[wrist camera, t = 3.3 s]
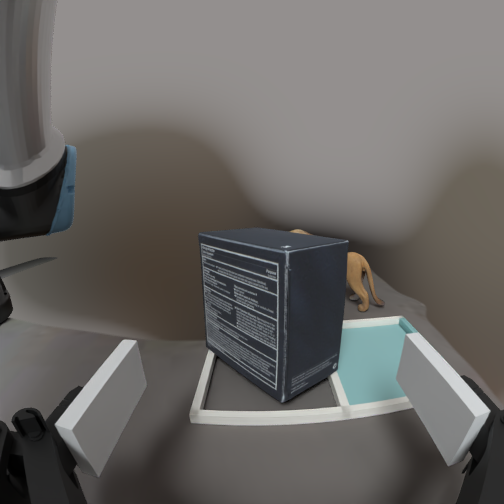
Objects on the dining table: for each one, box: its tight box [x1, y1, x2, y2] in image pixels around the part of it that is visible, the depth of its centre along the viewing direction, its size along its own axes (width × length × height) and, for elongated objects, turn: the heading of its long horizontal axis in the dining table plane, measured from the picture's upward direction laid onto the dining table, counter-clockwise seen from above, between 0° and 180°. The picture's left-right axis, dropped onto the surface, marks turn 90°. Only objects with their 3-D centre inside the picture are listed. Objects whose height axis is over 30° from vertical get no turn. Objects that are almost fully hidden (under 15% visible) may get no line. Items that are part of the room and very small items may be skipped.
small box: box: [198, 228, 349, 402], centre depth 23 cm, size 11×6×10 cm, turn 37°
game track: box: [189, 316, 457, 425], centre depth 24 cm, size 21×14×1 cm
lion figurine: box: [291, 230, 385, 312], centre depth 38 cm, size 15×5×9 cm, turn 55°
